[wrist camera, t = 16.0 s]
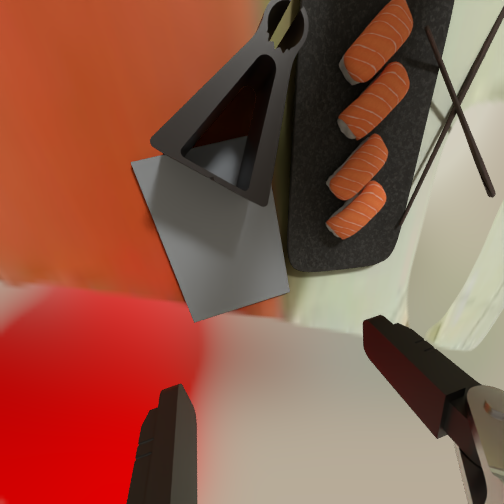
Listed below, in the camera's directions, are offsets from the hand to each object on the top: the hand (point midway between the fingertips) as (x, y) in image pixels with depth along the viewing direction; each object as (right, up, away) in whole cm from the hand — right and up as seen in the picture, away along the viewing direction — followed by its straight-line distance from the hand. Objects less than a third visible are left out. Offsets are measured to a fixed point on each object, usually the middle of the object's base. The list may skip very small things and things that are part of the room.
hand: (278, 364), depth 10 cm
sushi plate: (+17, +17, +17) cm, 30 cm away
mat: (-4, +6, +15) cm, 17 cm away
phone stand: (-5, +11, +9) cm, 15 cm away
